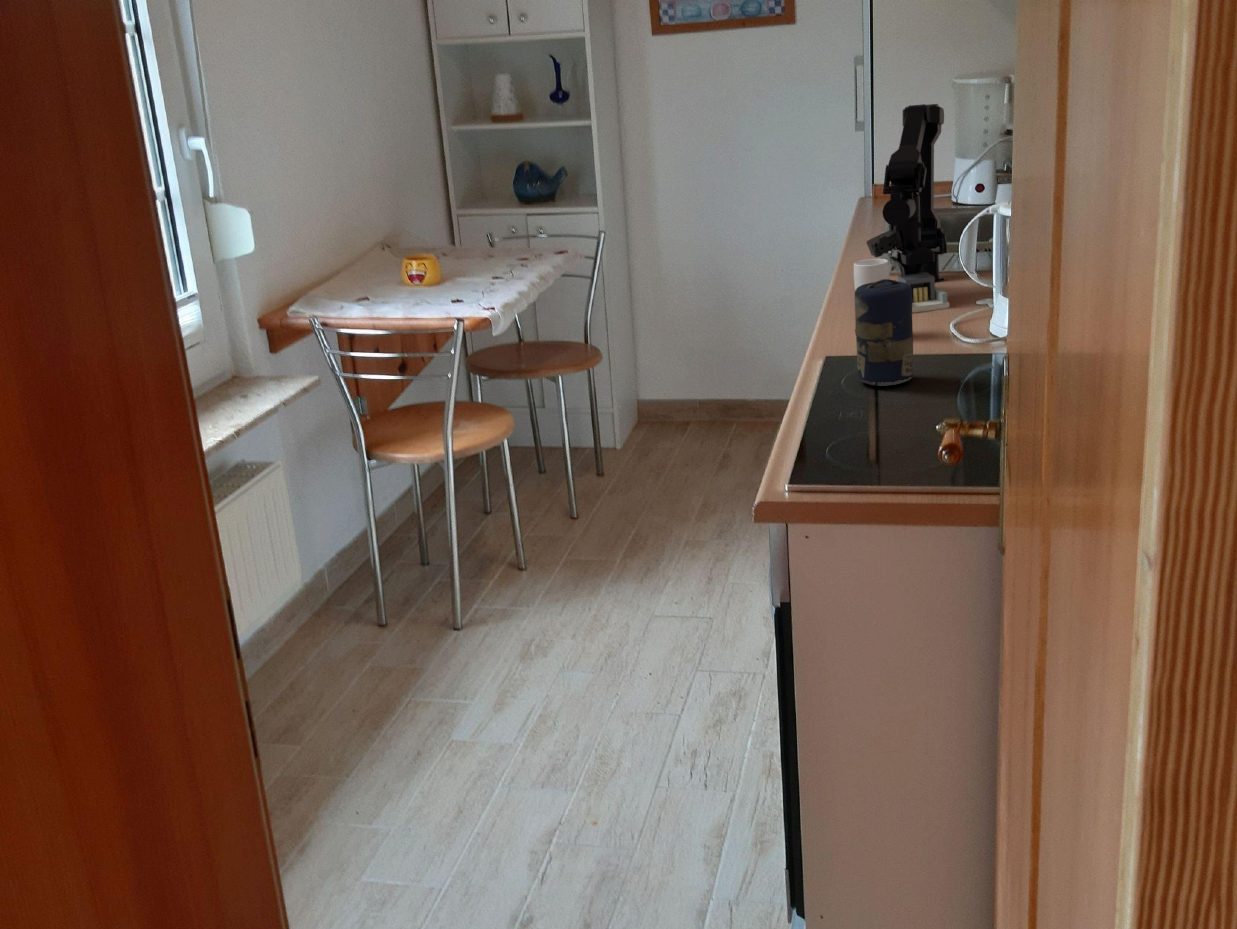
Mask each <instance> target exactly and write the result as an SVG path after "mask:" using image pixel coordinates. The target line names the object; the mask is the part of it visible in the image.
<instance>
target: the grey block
mask: <svg viewBox="0 0 1237 929" xmlns="http://www.w3.org/2000/svg"><path fill="white" fill-rule="evenodd" d="M897 281H898V282H904V283H906V284H908V285H909V286H910V287H911V290H912V298H913V288H917V294H918V288H919V287H922V291H923V287H927V288H928V299H930V300H935V287H936V284H935V283H936V281H935V277H934V276H932V275H931V274H929V273H927V272H923V273H915V274H908V275H901V274H900V275H897Z"/></svg>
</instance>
